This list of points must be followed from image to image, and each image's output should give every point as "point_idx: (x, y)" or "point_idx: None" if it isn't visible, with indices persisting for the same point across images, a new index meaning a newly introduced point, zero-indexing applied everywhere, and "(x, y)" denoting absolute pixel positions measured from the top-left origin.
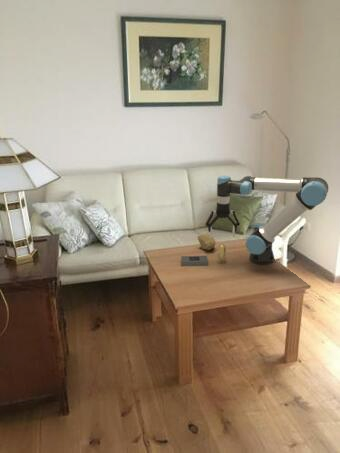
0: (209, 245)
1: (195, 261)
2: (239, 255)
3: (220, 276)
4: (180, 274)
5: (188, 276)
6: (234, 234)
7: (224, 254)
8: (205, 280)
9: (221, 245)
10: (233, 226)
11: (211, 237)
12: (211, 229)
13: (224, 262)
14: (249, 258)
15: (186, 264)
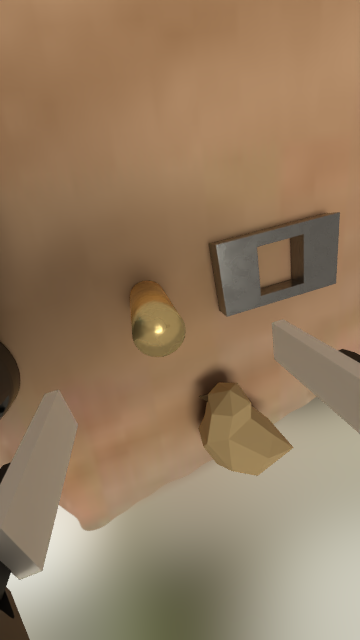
0: (227, 393)
1: (276, 233)
2: (77, 390)
3: (124, 93)
4: (333, 98)
5: (297, 72)
6: (34, 416)
7: (136, 300)
8: (205, 11)
9: (165, 332)
10: (13, 543)
11: (274, 322)
12: (348, 366)
13: (133, 289)
14: (8, 359)
15: (308, 218)
